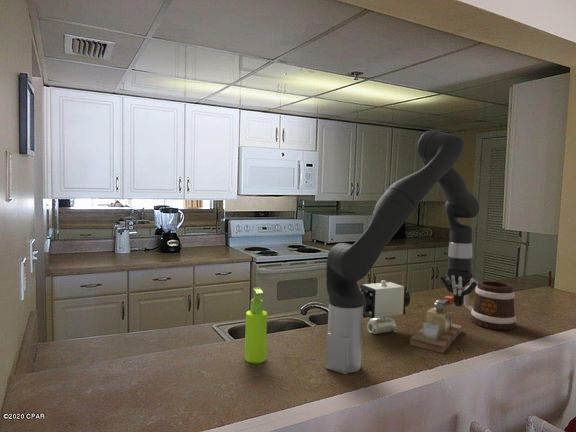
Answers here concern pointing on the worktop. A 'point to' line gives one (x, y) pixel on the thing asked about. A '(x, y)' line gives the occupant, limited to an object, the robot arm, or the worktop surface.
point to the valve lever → (443, 303)
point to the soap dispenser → (256, 330)
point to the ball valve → (383, 304)
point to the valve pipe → (436, 324)
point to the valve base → (442, 340)
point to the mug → (493, 306)
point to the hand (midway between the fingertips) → (458, 305)
